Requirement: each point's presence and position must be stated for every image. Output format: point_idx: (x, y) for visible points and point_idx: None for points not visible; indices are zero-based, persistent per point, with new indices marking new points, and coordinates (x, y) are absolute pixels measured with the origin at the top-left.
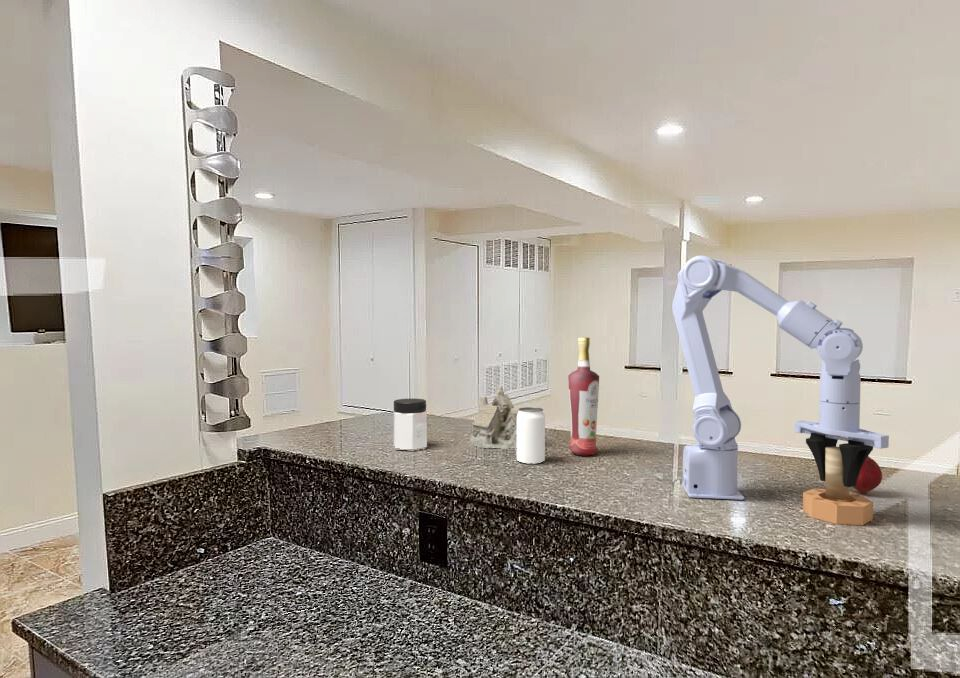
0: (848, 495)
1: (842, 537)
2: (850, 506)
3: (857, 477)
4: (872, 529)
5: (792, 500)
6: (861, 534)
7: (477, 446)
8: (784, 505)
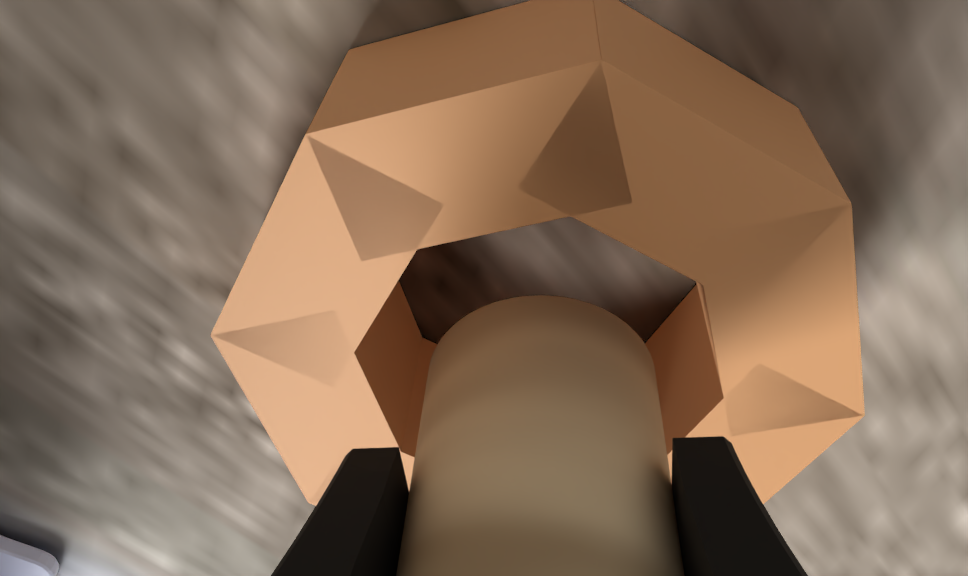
0: (657, 390)
1: (855, 569)
2: (782, 482)
3: (769, 522)
4: (909, 308)
5: (83, 264)
6: (906, 451)
7: None
8: (205, 412)
